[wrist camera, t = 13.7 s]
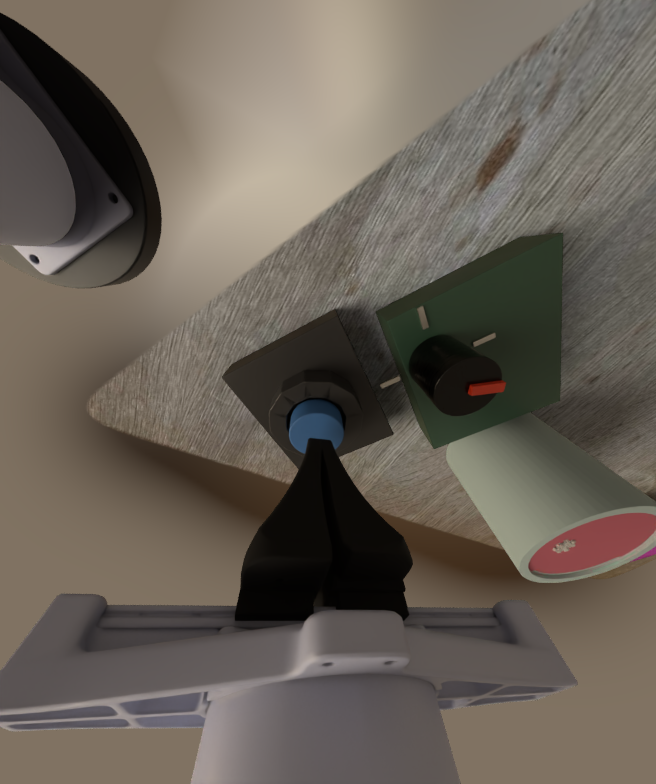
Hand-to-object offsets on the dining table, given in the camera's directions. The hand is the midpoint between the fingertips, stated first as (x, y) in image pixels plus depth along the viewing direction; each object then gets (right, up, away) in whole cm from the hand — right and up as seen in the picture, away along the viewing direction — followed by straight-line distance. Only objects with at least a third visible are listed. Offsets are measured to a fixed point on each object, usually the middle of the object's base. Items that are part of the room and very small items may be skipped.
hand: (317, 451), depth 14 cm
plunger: (0, +2, +3) cm, 3 cm away
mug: (+19, -3, +11) cm, 22 cm away
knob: (+8, +6, +2) cm, 10 cm away
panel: (+11, +7, +5) cm, 14 cm away
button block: (0, +3, +6) cm, 7 cm away
